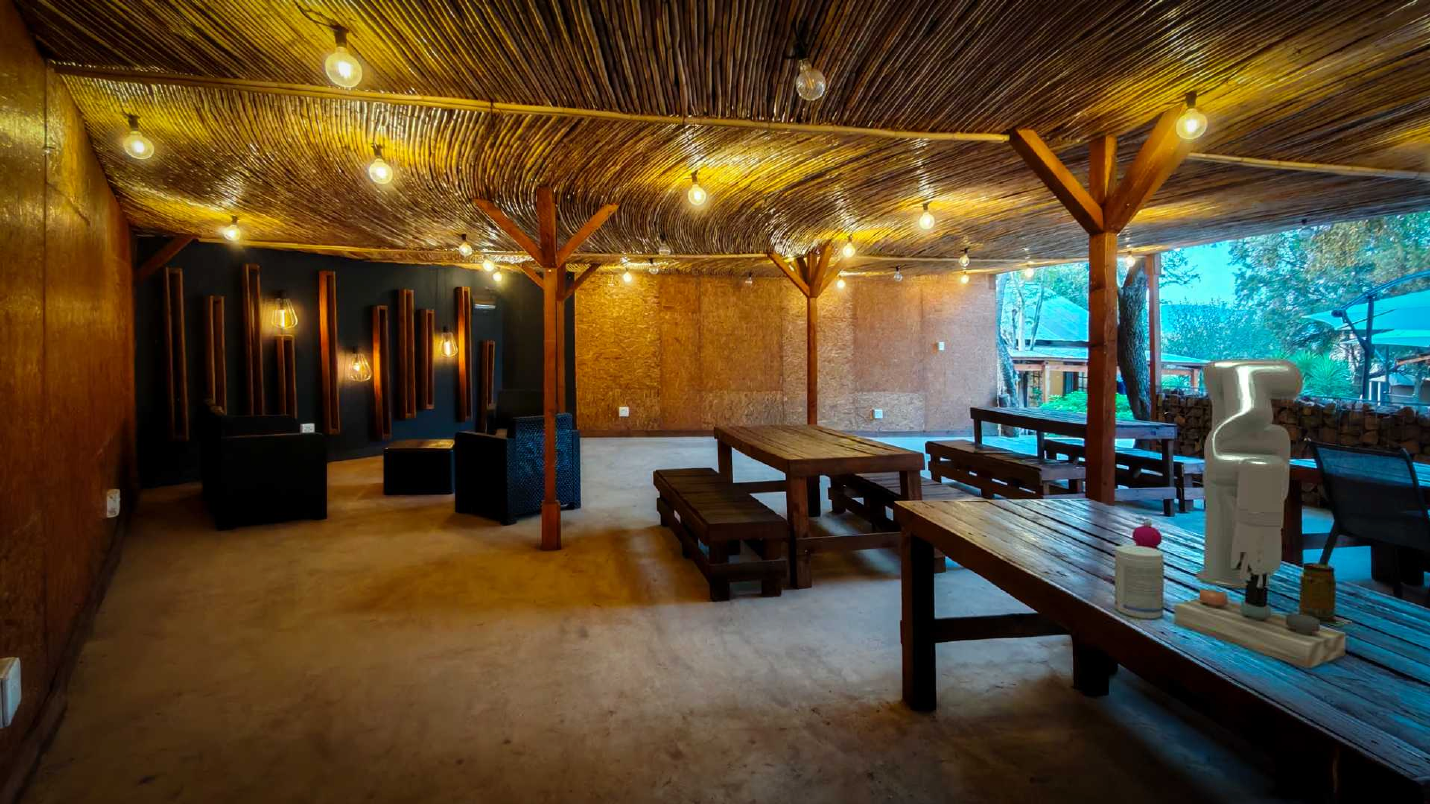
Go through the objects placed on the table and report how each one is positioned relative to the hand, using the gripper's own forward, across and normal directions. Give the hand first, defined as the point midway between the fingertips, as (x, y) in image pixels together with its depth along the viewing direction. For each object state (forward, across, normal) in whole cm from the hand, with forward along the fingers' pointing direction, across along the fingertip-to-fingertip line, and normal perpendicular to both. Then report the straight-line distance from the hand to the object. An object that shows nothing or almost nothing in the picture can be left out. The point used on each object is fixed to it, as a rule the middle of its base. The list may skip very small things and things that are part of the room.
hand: (1255, 604), depth 138 cm
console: (+7, 0, 0) cm, 7 cm away
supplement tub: (+8, +7, -20) cm, 23 cm away
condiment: (+8, -27, 0) cm, 28 cm away
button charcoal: (+5, 0, +8) cm, 10 cm away
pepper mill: (+8, -2, -24) cm, 25 cm away
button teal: (+5, 0, 0) cm, 5 cm away
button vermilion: (+5, 0, -8) cm, 10 cm away
